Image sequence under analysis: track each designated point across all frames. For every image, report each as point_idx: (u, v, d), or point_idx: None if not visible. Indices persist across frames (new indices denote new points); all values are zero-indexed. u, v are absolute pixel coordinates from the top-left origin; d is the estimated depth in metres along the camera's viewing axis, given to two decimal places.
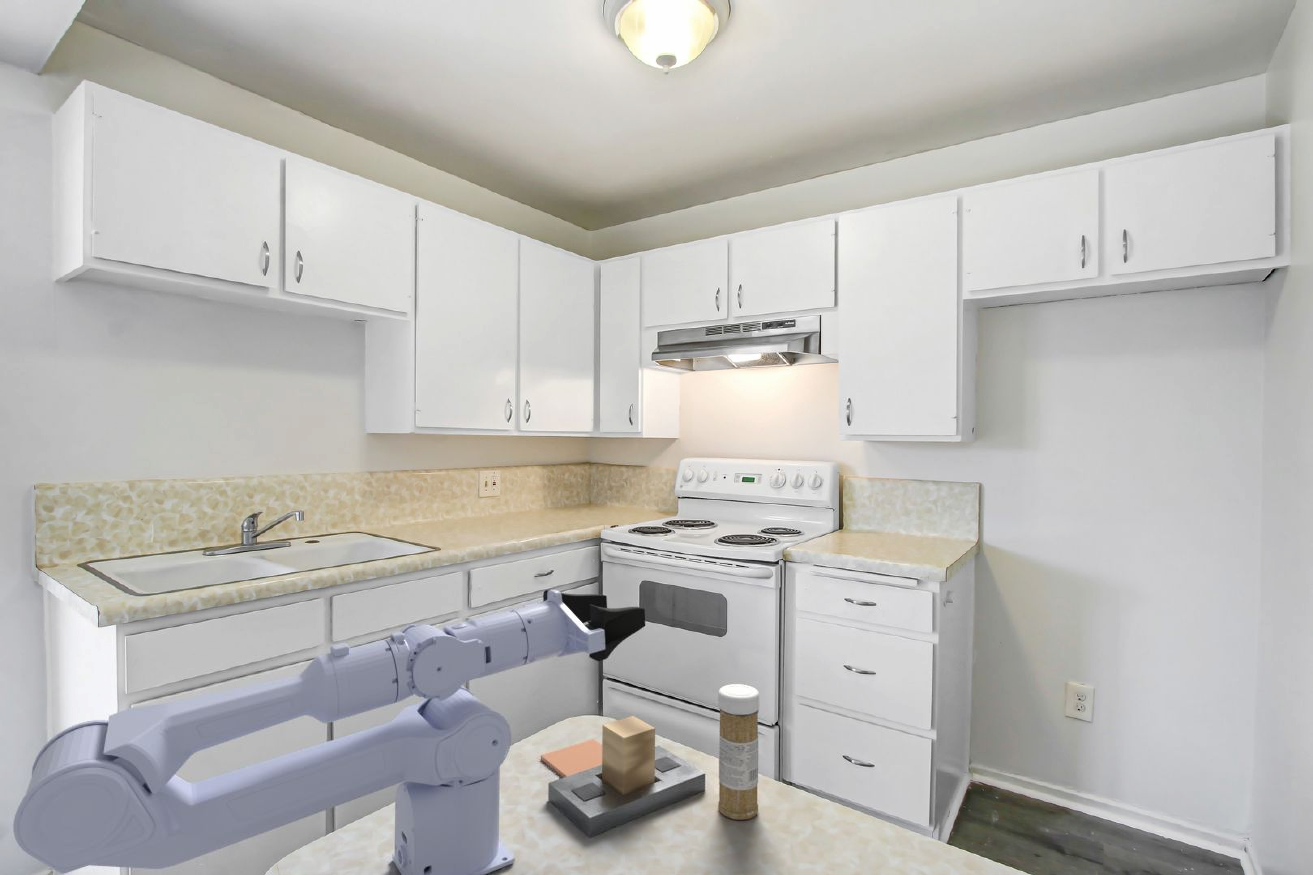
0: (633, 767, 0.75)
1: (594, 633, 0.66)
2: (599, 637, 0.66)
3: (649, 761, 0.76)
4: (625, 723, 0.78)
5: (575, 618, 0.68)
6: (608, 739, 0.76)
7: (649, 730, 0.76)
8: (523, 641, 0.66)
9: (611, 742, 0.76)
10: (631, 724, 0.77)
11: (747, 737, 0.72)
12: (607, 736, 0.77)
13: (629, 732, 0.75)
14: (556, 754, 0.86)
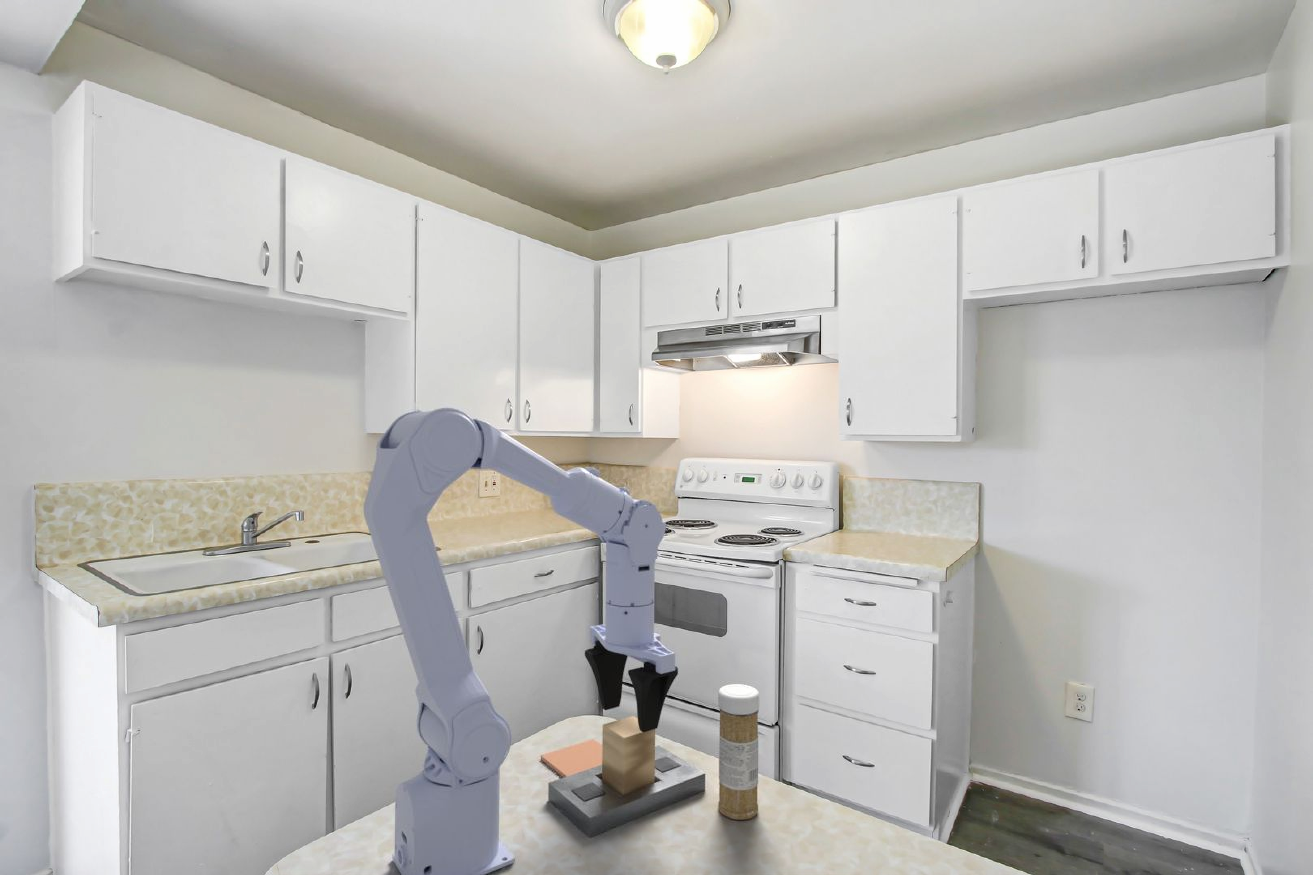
0: (633, 767, 0.75)
1: (674, 659, 0.72)
2: (670, 665, 0.72)
3: (649, 761, 0.76)
4: (625, 723, 0.78)
5: None
6: (608, 739, 0.76)
7: None
8: (647, 601, 0.75)
9: (611, 742, 0.76)
10: (631, 724, 0.77)
11: (747, 737, 0.72)
12: (608, 736, 0.77)
13: (629, 732, 0.75)
14: (556, 754, 0.86)
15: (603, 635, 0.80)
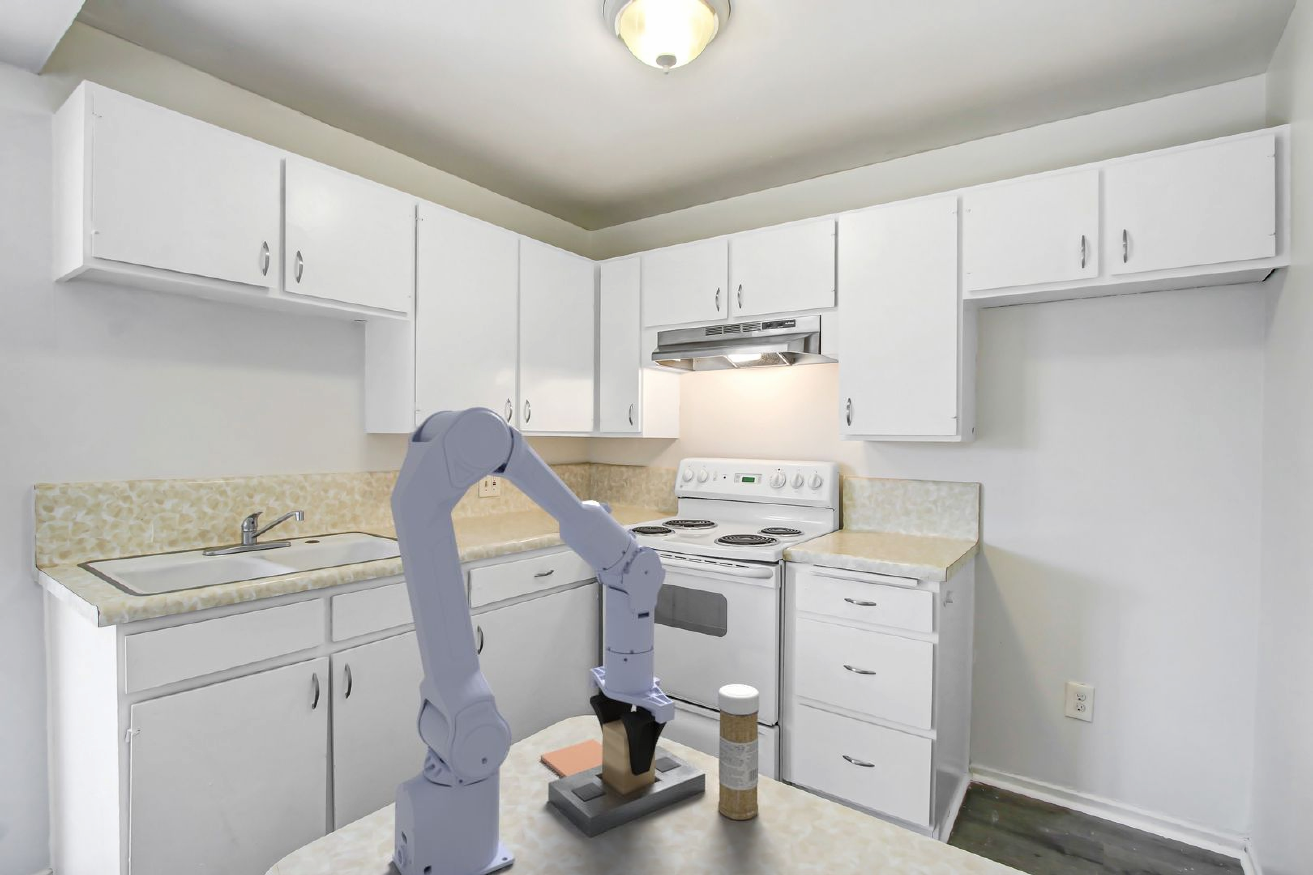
0: None
1: (674, 708, 0.72)
2: (670, 714, 0.72)
3: None
4: None
5: None
6: (608, 739, 0.76)
7: None
8: (646, 647, 0.75)
9: (611, 742, 0.76)
10: None
11: (746, 737, 0.72)
12: (608, 736, 0.77)
13: None
14: (556, 754, 0.86)
15: (602, 679, 0.80)
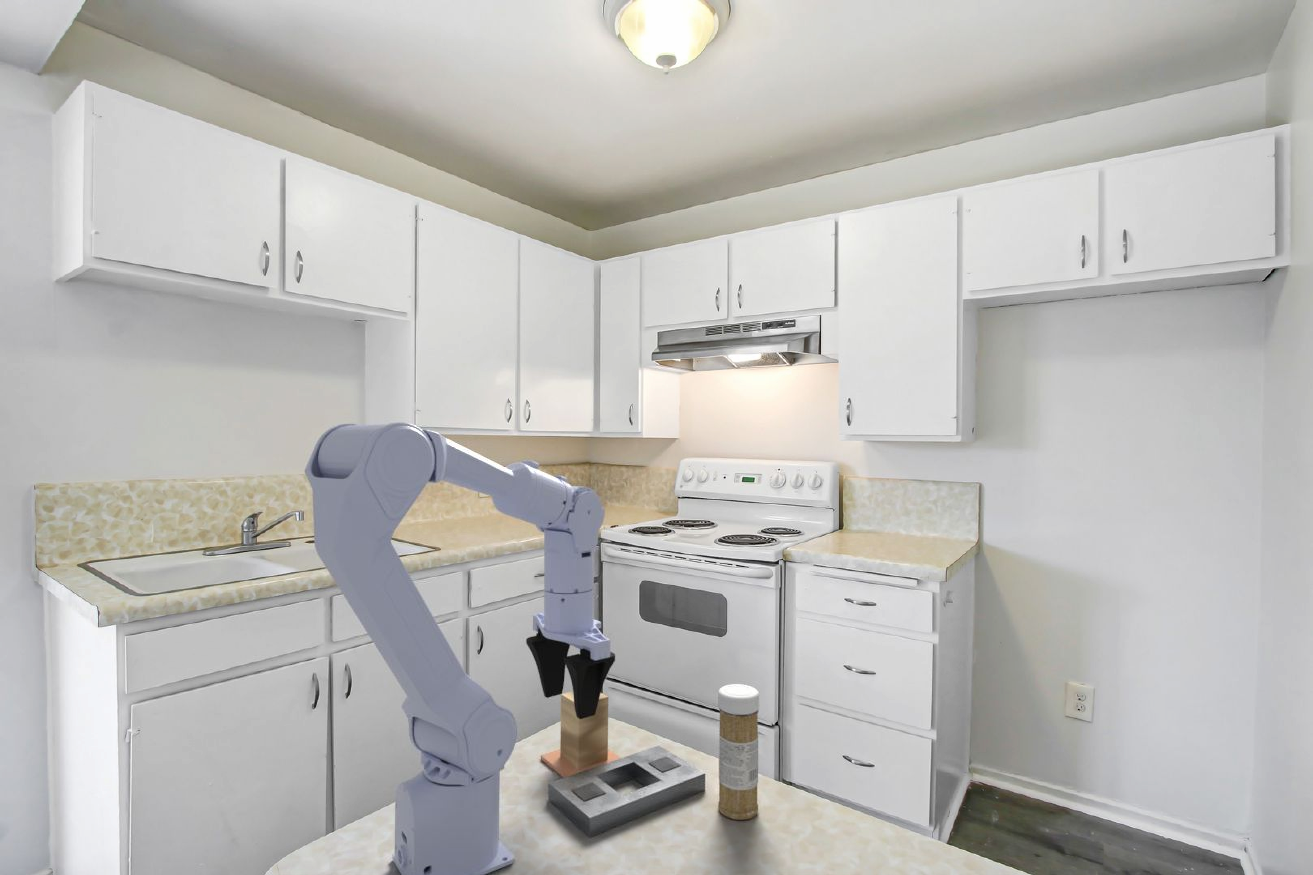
0: (587, 731, 0.83)
1: (609, 646, 0.72)
2: (605, 652, 0.71)
3: (603, 726, 0.84)
4: None
5: None
6: (566, 707, 0.84)
7: (602, 699, 0.84)
8: (589, 586, 0.76)
9: (568, 709, 0.84)
10: None
11: (746, 737, 0.72)
12: (565, 704, 0.85)
13: None
14: (556, 754, 0.86)
15: None
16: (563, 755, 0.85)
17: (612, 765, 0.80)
